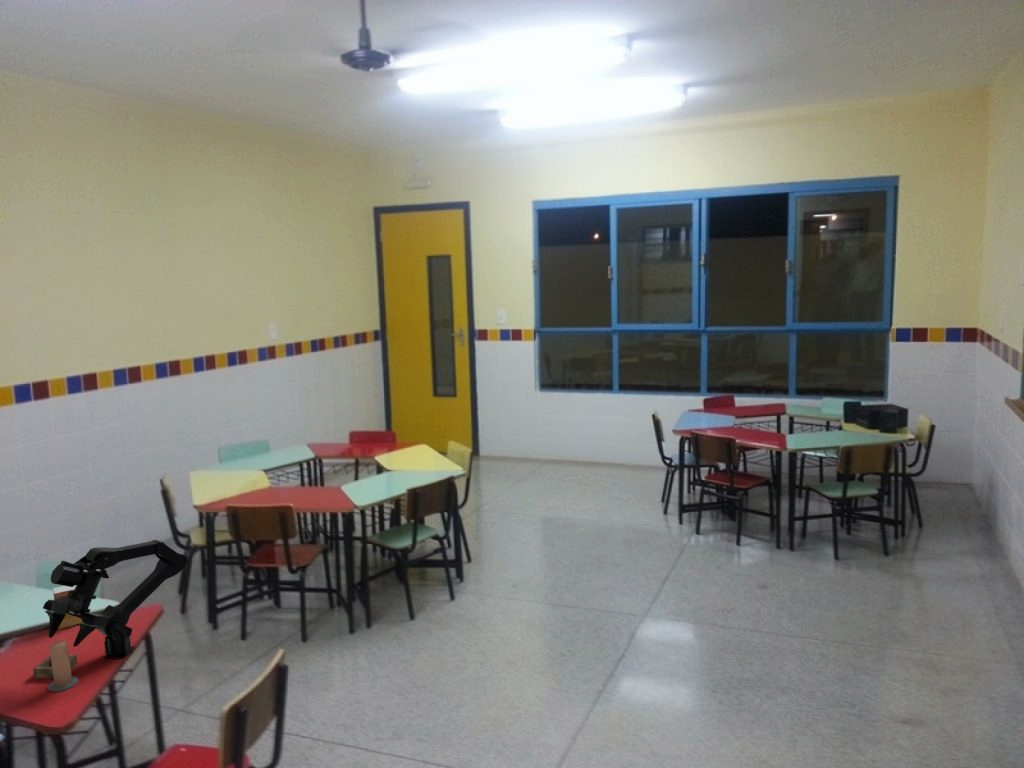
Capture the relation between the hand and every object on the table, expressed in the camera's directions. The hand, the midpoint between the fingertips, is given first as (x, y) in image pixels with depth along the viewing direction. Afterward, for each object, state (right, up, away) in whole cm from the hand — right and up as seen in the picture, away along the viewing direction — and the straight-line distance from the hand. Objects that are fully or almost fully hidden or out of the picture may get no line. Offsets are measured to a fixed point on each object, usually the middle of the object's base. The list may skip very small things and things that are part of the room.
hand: (62, 642), depth 225 cm
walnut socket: (-5, -10, +5) cm, 12 cm away
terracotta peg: (+2, -11, -3) cm, 12 cm away
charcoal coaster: (+2, -11, -3) cm, 12 cm away
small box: (-19, -6, +37) cm, 42 cm away
